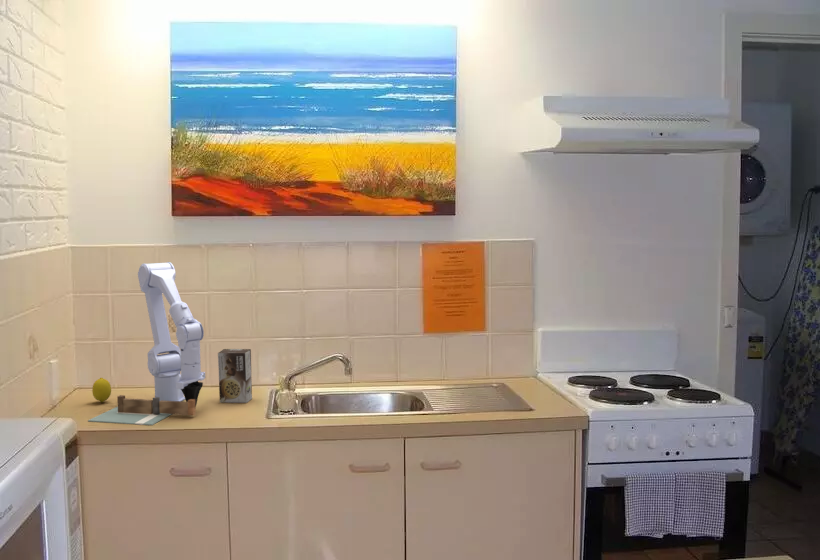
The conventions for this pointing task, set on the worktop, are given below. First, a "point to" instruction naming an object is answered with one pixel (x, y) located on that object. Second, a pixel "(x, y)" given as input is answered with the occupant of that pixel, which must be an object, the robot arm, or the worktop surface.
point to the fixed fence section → (138, 405)
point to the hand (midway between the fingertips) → (191, 407)
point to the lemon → (101, 390)
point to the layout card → (128, 417)
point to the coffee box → (235, 375)
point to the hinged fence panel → (178, 407)
